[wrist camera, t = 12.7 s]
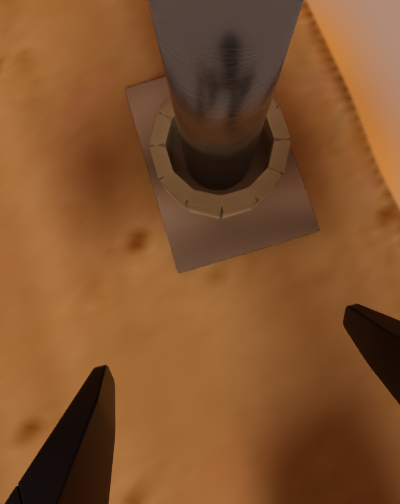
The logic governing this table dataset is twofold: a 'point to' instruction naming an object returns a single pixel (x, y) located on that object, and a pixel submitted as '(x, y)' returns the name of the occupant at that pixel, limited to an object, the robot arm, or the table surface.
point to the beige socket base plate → (220, 201)
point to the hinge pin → (222, 77)
